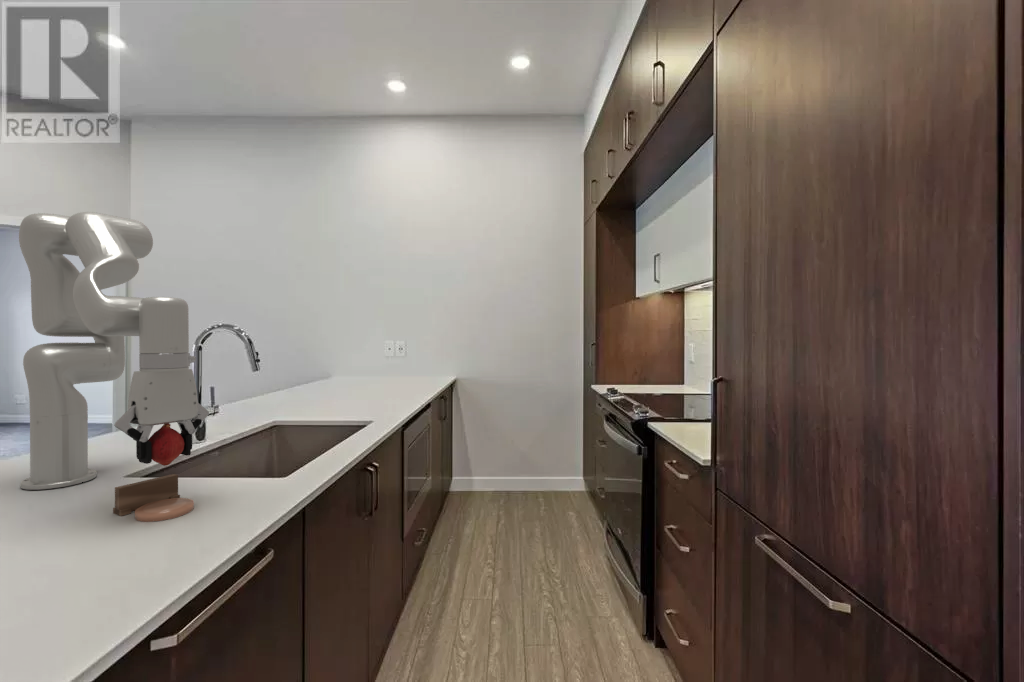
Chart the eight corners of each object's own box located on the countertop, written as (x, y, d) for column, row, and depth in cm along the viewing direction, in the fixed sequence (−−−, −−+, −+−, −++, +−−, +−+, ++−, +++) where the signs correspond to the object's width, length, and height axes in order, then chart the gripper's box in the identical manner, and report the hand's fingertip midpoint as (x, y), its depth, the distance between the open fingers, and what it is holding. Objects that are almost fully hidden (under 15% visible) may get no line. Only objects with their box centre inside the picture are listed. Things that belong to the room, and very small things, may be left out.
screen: (113, 513, 89) (113, 486, 89) (172, 497, 98) (172, 473, 98) (120, 516, 88) (120, 489, 88) (180, 499, 96) (179, 475, 96)
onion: (164, 470, 86) (163, 426, 86) (138, 469, 87) (137, 425, 87) (191, 462, 92) (191, 421, 92) (166, 460, 93) (166, 420, 93)
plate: (125, 515, 88) (125, 509, 88) (178, 501, 96) (178, 495, 96) (150, 525, 84) (149, 518, 84) (203, 509, 91) (203, 502, 91)
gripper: (201, 360, 99) (202, 446, 99) (98, 364, 84) (99, 466, 84) (222, 361, 95) (223, 451, 95) (118, 366, 80) (119, 472, 80)
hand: (165, 457), depth 89 cm, fingers closed on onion, 5 cm apart
